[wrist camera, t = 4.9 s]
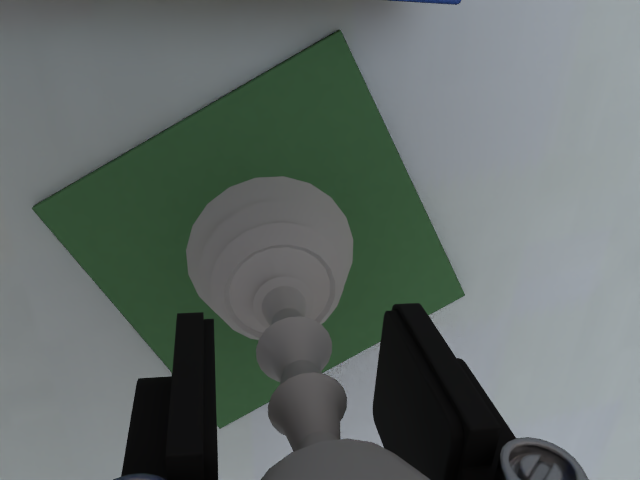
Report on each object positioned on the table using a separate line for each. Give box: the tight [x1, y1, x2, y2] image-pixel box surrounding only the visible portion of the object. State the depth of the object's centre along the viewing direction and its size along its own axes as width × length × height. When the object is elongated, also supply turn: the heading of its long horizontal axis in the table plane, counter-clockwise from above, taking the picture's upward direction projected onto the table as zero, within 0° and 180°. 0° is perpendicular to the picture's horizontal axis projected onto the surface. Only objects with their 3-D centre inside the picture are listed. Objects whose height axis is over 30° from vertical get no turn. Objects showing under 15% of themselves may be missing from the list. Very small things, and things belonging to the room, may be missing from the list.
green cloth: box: [32, 30, 465, 428], centre depth 17 cm, size 10×10×1 cm
